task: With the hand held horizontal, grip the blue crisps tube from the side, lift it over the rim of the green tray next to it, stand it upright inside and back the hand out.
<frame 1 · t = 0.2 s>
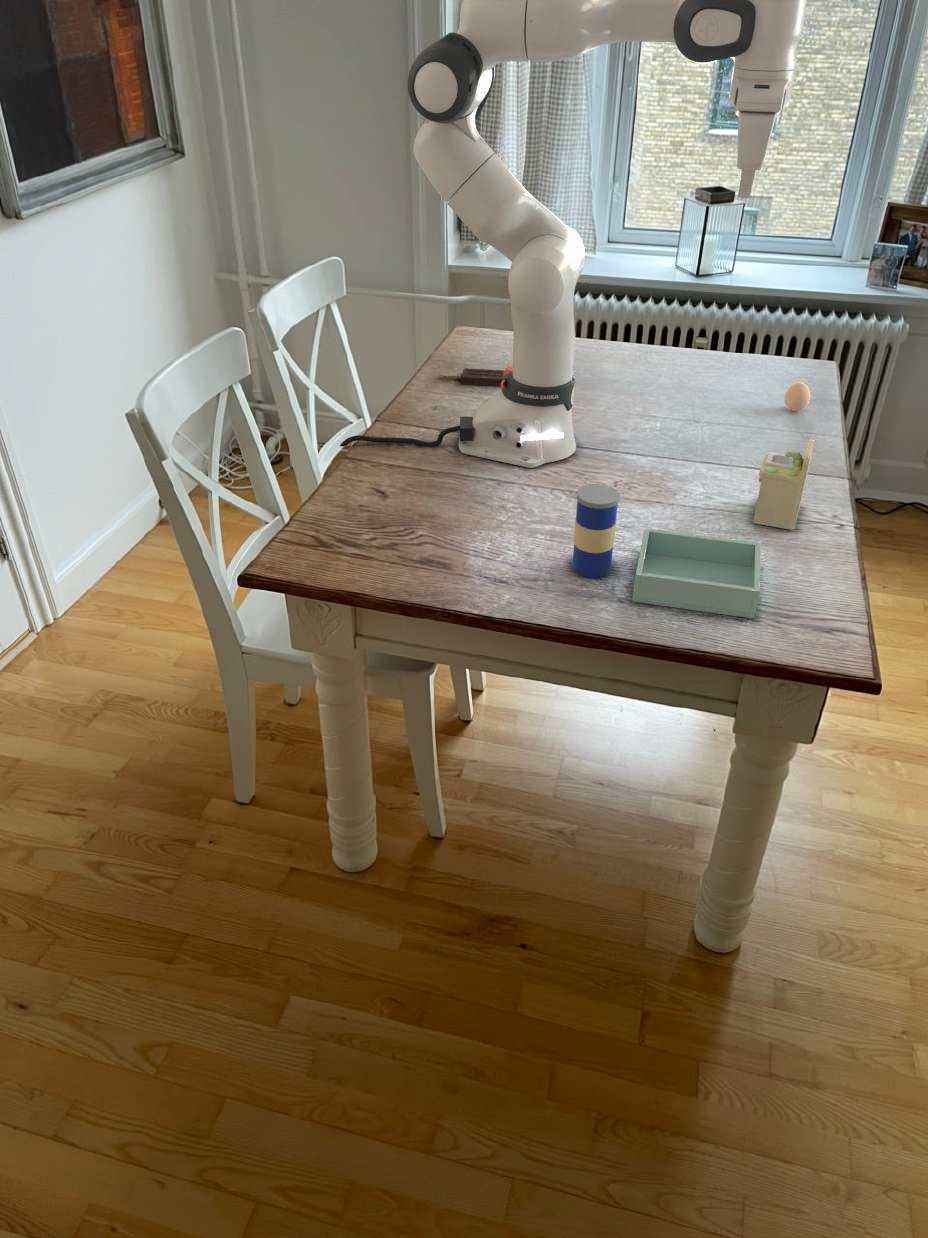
hand: (744, 189, 151), 48 cm above the table, tool pointing down, fingers open, 8 cm apart
ice cream bar: (474, 380, 212), on the table
egg: (794, 411, 199), on the table
toy sink: (775, 516, 164), on the table
green tray: (695, 585, 147), on the table
snack tube: (591, 567, 151), on the table
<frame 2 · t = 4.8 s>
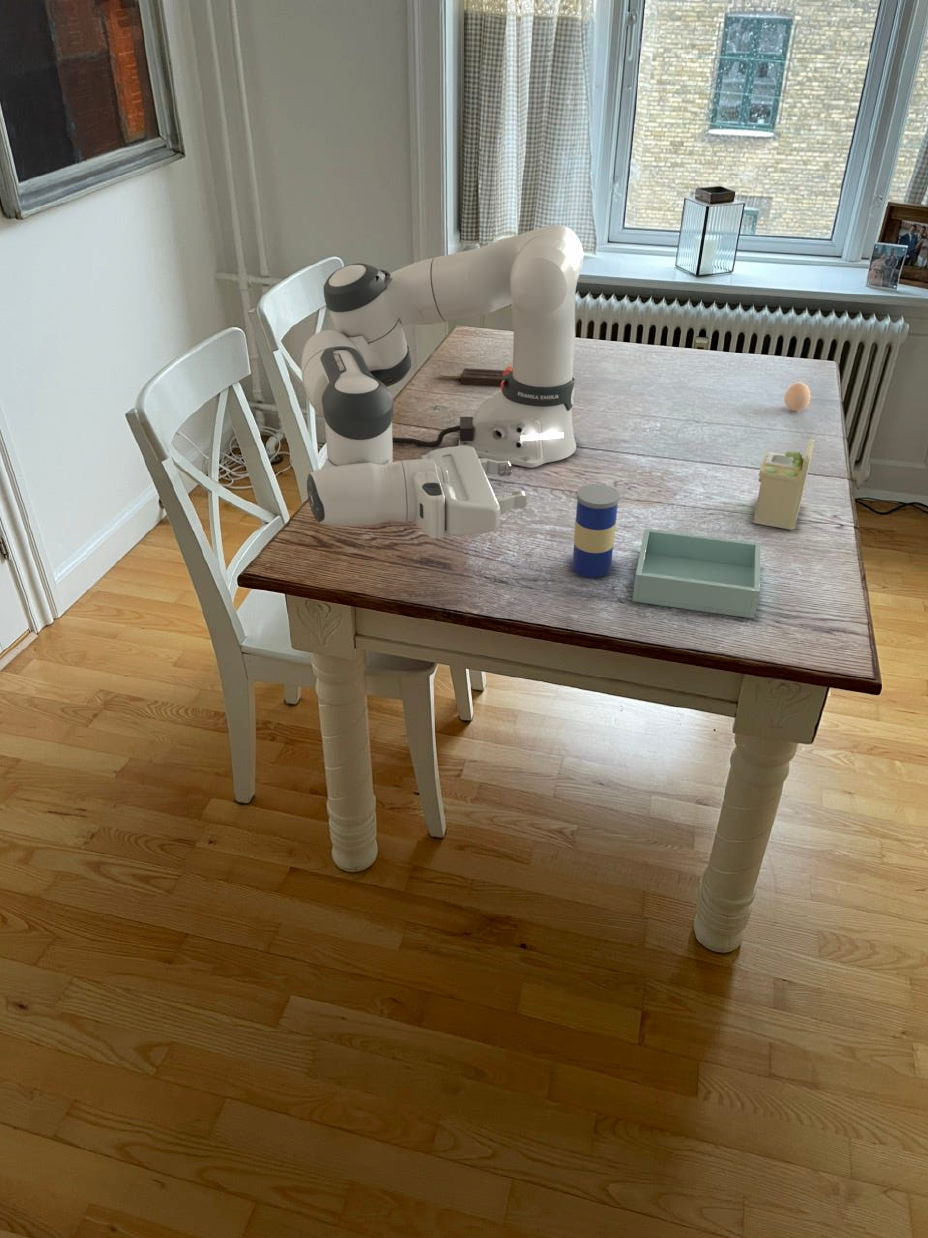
hand: (517, 483, 140), 16 cm above the table, tool horizontal, fingers open, 8 cm apart
nothing on the table moved.
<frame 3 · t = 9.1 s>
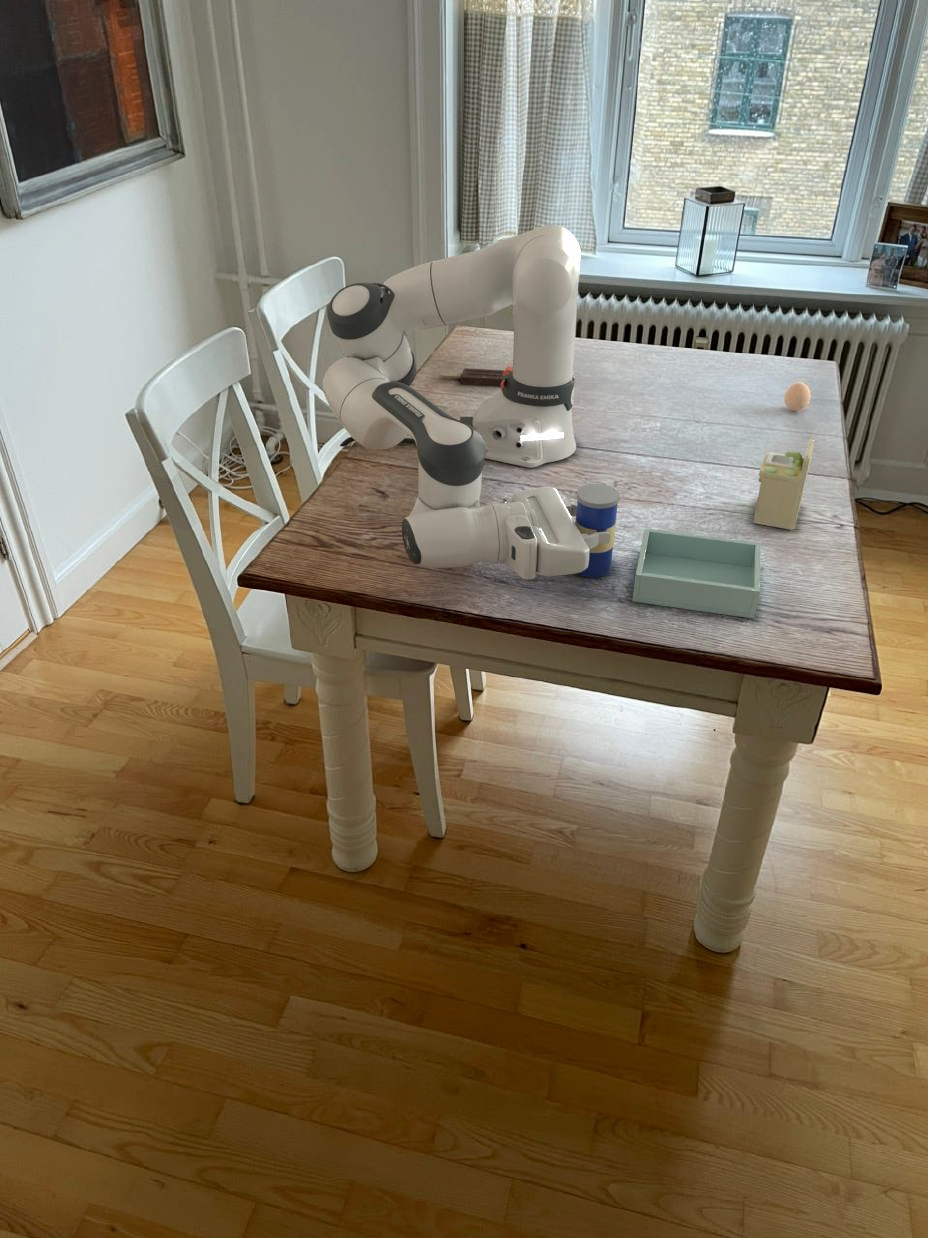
hand: (601, 523, 146), 8 cm above the table, tool horizontal, fingers closed on snack tube, 6 cm apart
snack tube: (591, 567, 151), on the table, touching gripper
everything else where it was.
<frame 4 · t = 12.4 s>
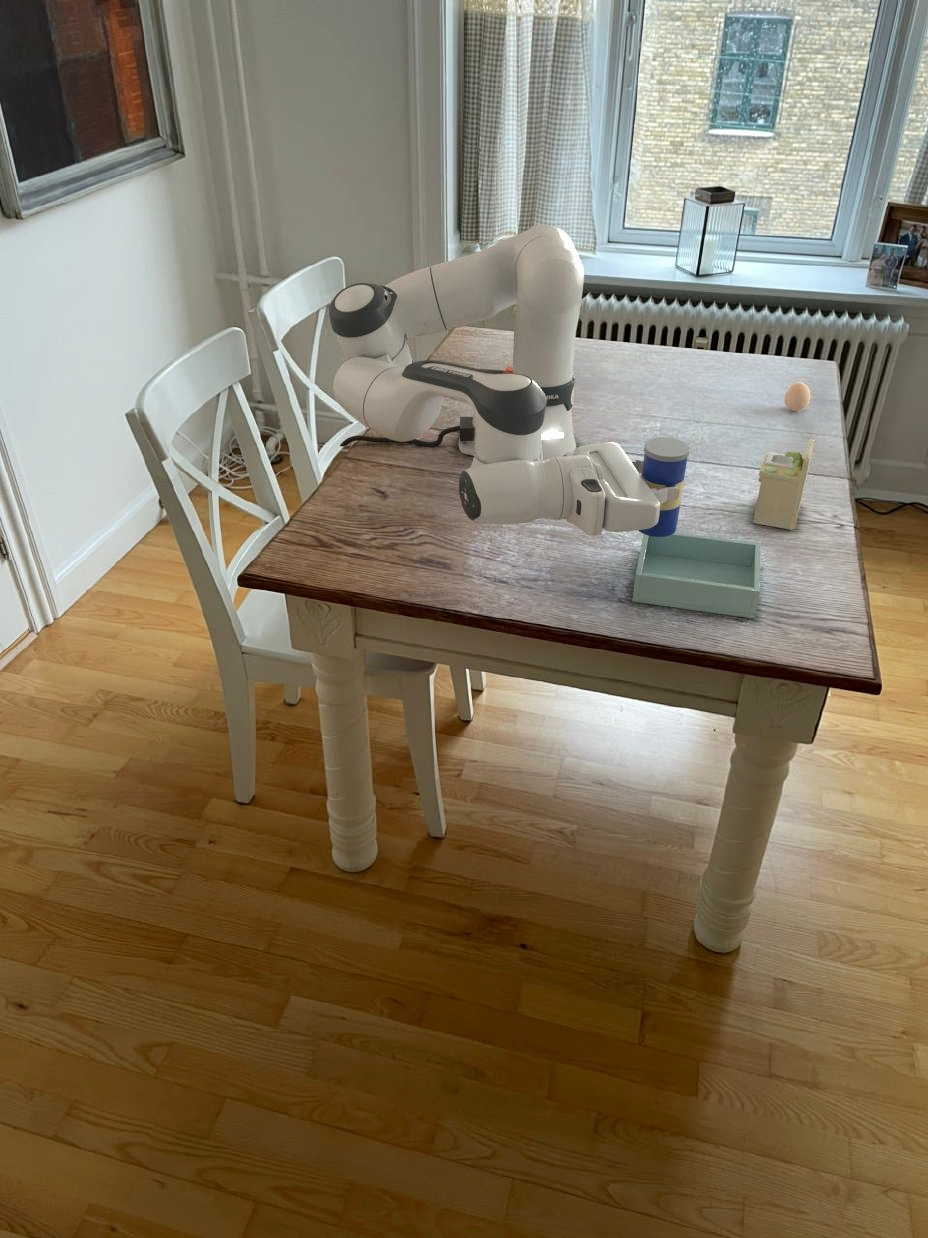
hand: (668, 479, 138), 17 cm above the table, tool horizontal, fingers closed on snack tube, 6 cm apart
snack tube: (655, 526, 143), point 9 cm above the table, touching gripper
everything else where it was.
when the fingers open (9 cm above the table, at t = 16.1 s): snack tube stays where it is, resting on green tray.
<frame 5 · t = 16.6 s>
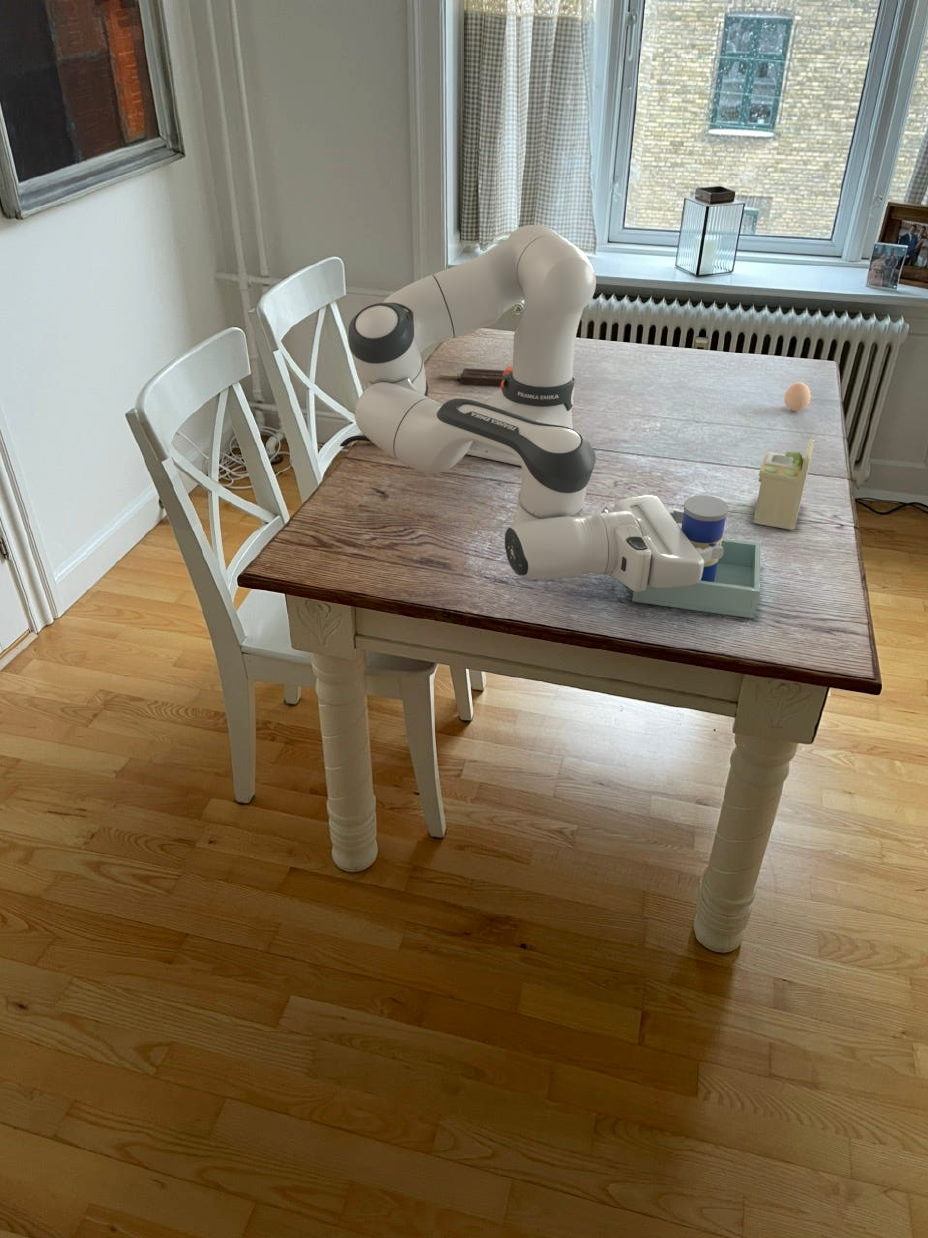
hand: (708, 533, 141), 9 cm above the table, tool horizontal, fingers open, 8 cm apart
snack tube: (693, 581, 146), point 1 cm above the table, touching green tray
everything else where it was.
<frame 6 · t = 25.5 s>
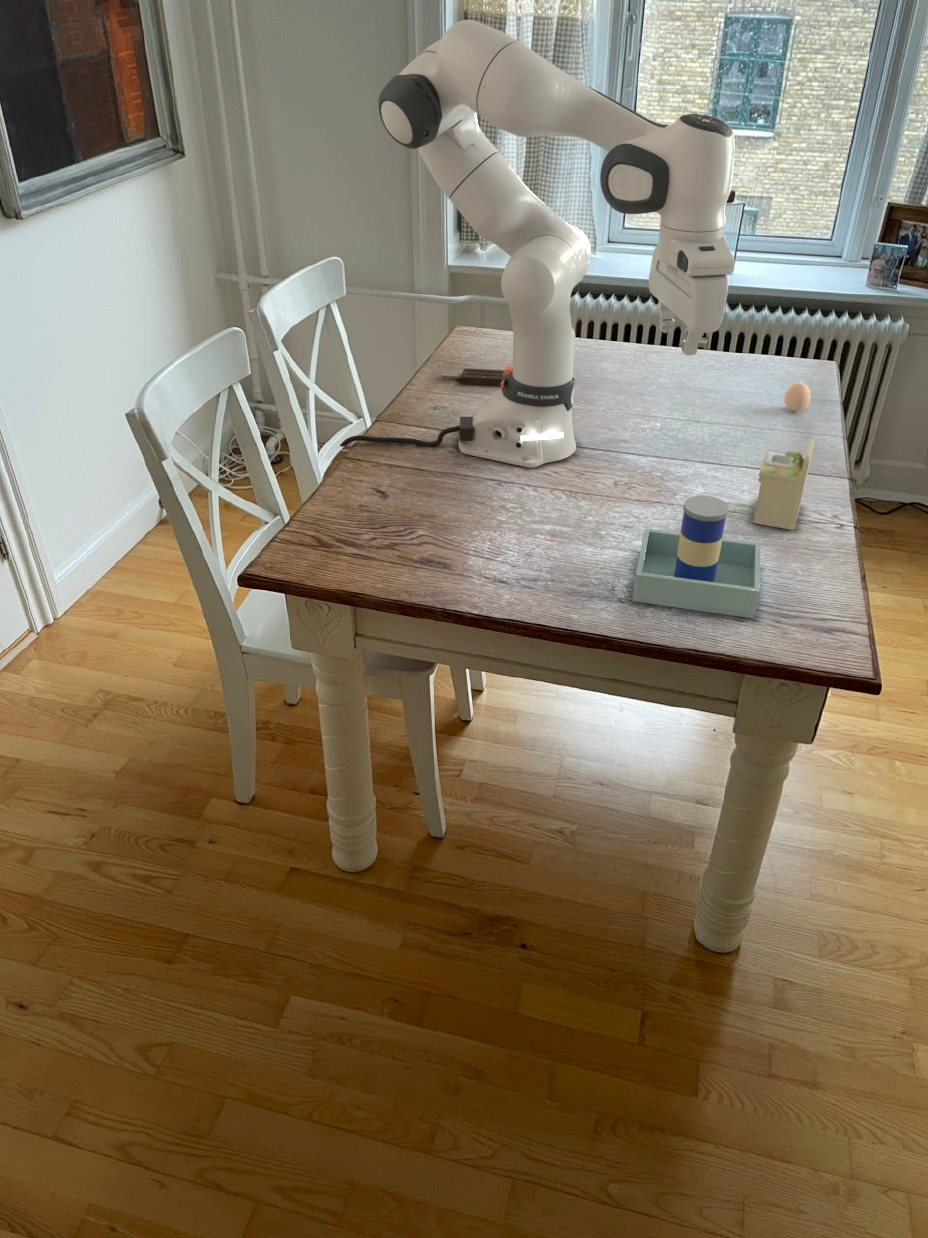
hand: (677, 342, 143), 31 cm above the table, tool pointing down, fingers open, 8 cm apart
nothing on the table moved.
at the end: snack tube inside the target area in the green tray (0.4 cm from its centre), point 0.8 cm above the green tray's base; snack tube tilted 0°; the gripper is holding nothing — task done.
